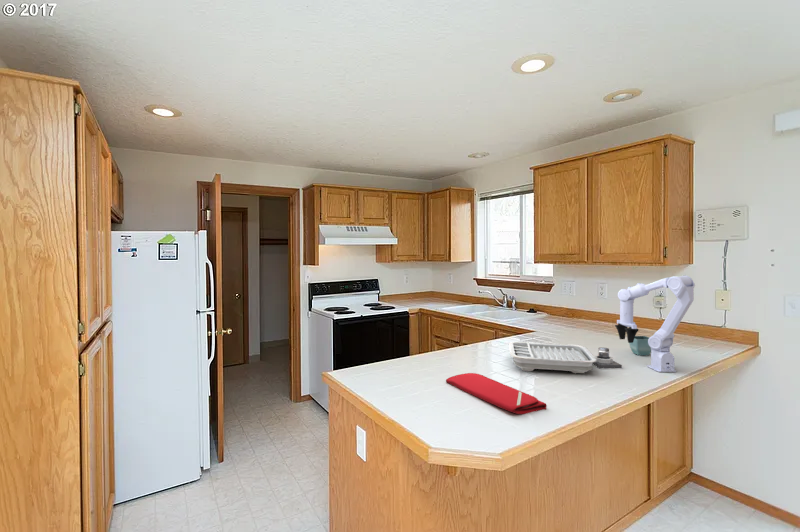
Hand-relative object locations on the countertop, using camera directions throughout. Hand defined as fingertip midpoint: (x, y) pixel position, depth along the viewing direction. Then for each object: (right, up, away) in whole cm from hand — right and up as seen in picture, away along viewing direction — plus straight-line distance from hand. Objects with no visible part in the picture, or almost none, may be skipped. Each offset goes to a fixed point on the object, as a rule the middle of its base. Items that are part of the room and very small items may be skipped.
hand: (626, 340), depth 203 cm
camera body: (-14, -10, -5) cm, 18 cm away
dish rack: (-40, -11, -7) cm, 42 cm away
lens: (-14, -9, -5) cm, 17 cm away
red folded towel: (-76, -13, -44) cm, 89 cm away
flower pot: (+14, -10, +12) cm, 21 cm away
